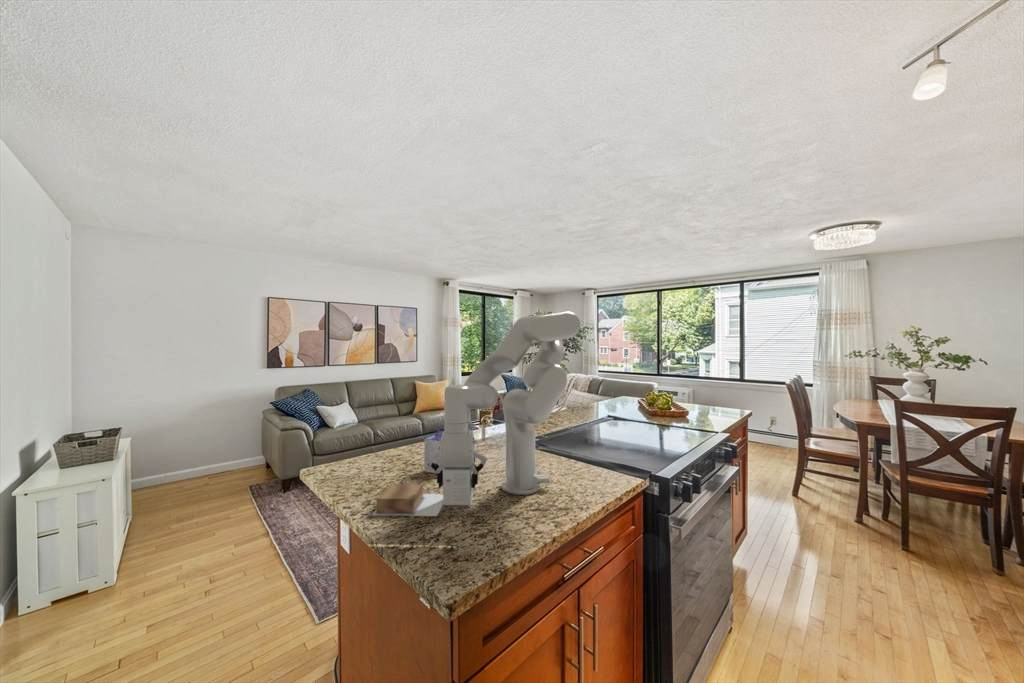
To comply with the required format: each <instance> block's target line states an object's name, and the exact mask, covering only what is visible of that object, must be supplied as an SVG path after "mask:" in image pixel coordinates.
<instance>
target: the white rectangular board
mask: <svg viewBox="0 0 1024 683" xmlns="http://www.w3.org/2000/svg"><path fill="white" fill-rule="evenodd" d="M443 506H444V505H443V493H442V494H438V493H423V499H422V500H421V502H420V503H419V505H418V506H417V508H416V509H415V511H414V512H413V514H405V513H377V508H376V509H375V510H374V511H373V513H372V514H371V515H372V516H416V517H417V516H418V517H420V516H421V517H437V516H438V515H439V513H440V511H441V509H442V508H443Z"/></svg>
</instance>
